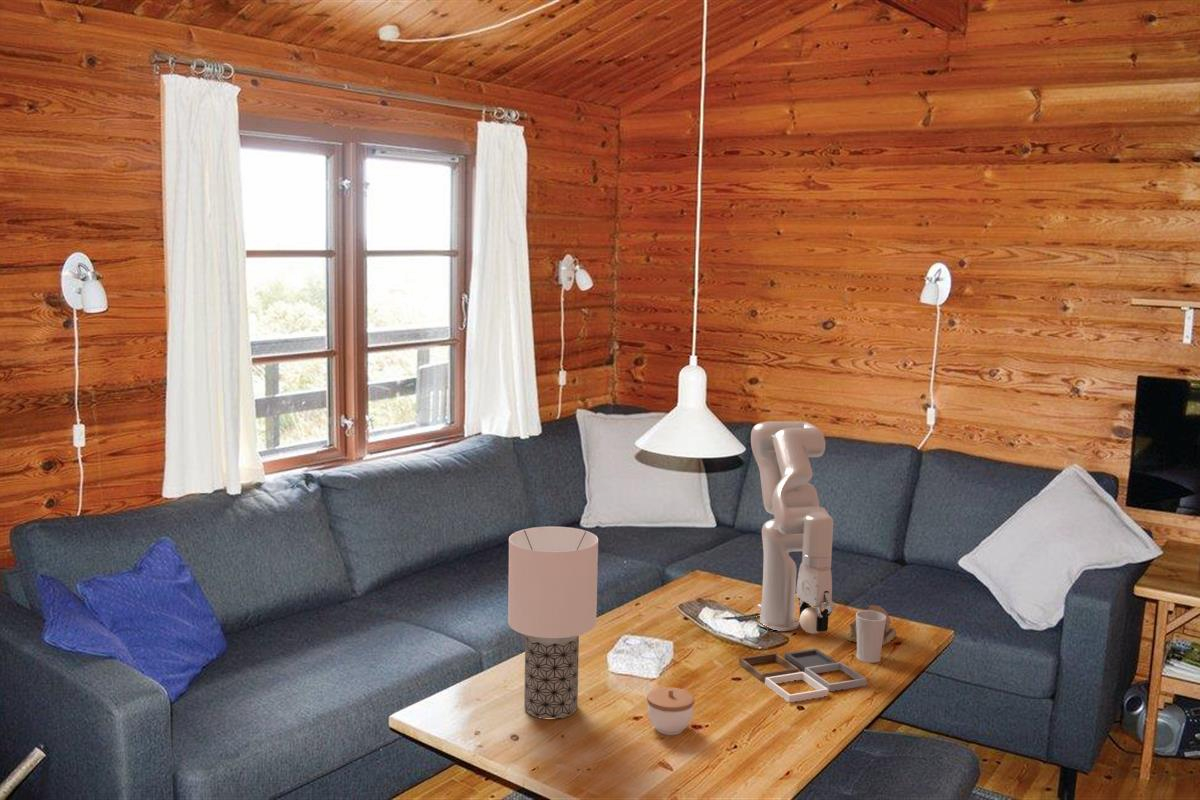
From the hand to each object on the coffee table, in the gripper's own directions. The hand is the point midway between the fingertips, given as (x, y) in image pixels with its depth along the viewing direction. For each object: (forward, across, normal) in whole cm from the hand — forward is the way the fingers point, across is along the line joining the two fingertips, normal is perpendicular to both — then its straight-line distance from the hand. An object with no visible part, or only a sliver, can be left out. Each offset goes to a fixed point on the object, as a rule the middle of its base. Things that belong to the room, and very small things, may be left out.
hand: (813, 625), depth 275 cm
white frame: (+11, +13, -13) cm, 21 cm away
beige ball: (+2, 0, 0) cm, 2 cm away
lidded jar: (+11, +21, -52) cm, 57 cm away
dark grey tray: (+11, 0, 0) cm, 11 cm away
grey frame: (+11, +11, 0) cm, 15 cm away
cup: (+11, +2, +17) cm, 20 cm away
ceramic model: (+11, -10, +27) cm, 31 cm away
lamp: (+11, +2, -74) cm, 75 cm away
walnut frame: (+11, 0, -13) cm, 17 cm away
